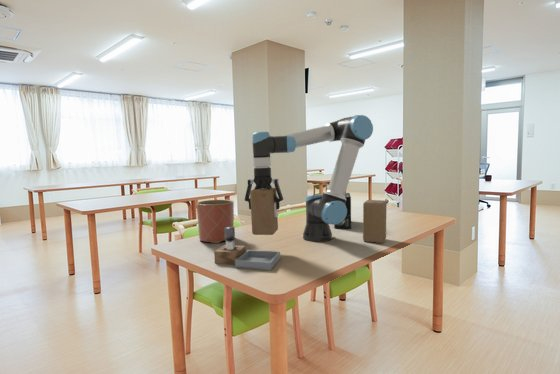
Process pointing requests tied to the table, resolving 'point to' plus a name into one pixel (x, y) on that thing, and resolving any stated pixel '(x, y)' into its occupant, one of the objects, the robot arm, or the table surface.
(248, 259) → the tray
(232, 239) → the cylinder
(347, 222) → the box
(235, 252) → the block
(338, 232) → the table surface
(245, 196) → the robot arm
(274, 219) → the wooden block
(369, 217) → the block
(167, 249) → the table surface
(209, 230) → the planter
